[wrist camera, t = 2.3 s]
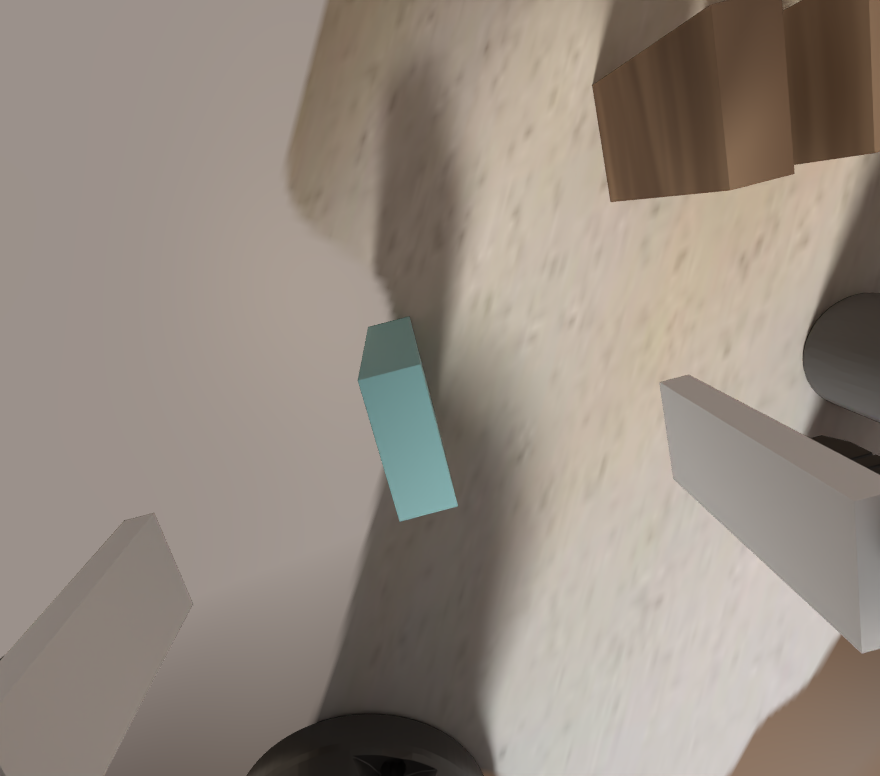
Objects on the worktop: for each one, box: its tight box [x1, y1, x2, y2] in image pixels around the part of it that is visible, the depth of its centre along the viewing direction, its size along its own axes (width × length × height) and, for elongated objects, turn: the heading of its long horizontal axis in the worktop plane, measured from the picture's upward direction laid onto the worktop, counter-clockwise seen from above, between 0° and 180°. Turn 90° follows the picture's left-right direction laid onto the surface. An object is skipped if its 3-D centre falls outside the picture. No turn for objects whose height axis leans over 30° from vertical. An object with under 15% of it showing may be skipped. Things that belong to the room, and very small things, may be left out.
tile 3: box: [783, 0, 880, 165], centre depth 22 cm, size 2×5×10 cm, turn 14°
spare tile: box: [358, 316, 458, 521], centre depth 24 cm, size 2×5×10 cm, turn 14°
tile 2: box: [592, 0, 794, 202], centre depth 22 cm, size 2×5×10 cm, turn 14°
